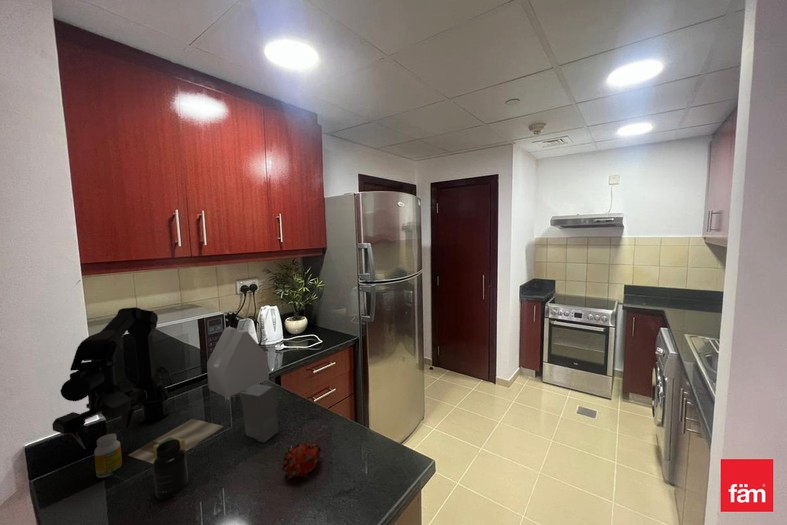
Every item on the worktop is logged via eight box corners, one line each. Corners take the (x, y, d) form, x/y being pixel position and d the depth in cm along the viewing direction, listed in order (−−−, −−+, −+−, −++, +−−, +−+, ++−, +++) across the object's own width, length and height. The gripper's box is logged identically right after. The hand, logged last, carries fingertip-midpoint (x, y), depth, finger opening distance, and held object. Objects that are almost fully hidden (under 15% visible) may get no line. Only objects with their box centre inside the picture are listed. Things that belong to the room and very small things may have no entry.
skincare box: (279, 432, 102) (276, 385, 101) (261, 445, 96) (258, 395, 95) (260, 426, 106) (257, 381, 105) (242, 439, 99) (239, 390, 98)
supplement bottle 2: (166, 481, 82) (163, 437, 82) (193, 478, 83) (190, 435, 82) (148, 502, 76) (144, 455, 75) (178, 499, 76) (174, 452, 75)
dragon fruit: (278, 491, 80) (317, 471, 89) (295, 484, 76) (334, 463, 85) (270, 456, 83) (308, 439, 92) (286, 446, 79) (324, 430, 88)
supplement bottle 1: (106, 479, 84) (103, 444, 83) (90, 477, 85) (87, 442, 84) (127, 465, 89) (124, 432, 88) (112, 463, 90) (109, 431, 89)
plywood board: (121, 456, 93) (121, 453, 93) (186, 420, 112) (186, 417, 111) (169, 472, 85) (169, 469, 85) (230, 430, 104) (230, 427, 104)
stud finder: (154, 455, 91) (153, 443, 91) (171, 445, 96) (170, 433, 96) (168, 460, 89) (167, 447, 89) (185, 449, 94) (184, 437, 93)
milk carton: (250, 373, 152) (247, 322, 150) (268, 380, 143) (265, 326, 141) (208, 388, 136) (204, 332, 135) (226, 398, 127) (222, 338, 126)
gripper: (73, 405, 74) (80, 468, 75) (157, 373, 91) (161, 424, 92) (48, 398, 78) (54, 458, 79) (132, 368, 95) (137, 418, 96)
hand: (106, 438), depth 86 cm, fingers open, 9 cm apart
